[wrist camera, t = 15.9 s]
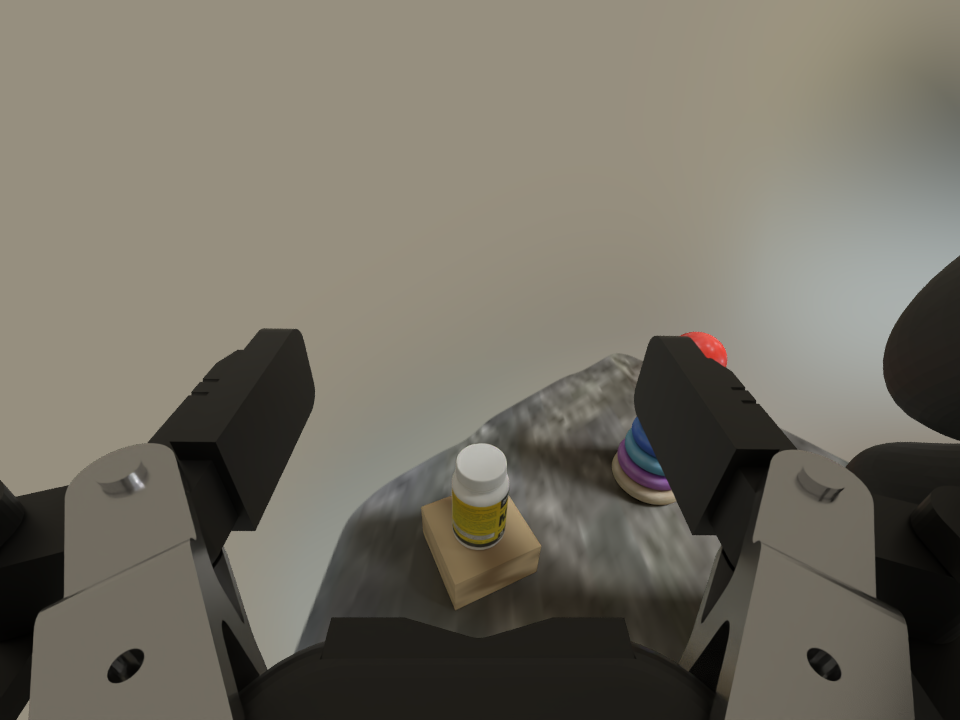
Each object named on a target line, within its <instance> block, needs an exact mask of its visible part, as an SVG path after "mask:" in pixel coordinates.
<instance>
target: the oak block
mask: <svg viewBox="0 0 960 720" xmlns="http://www.w3.org/2000/svg"><path fill="white" fill-rule="evenodd" d="M421 510H422V523H423V533H424V536H425V538H426V541H427V543H428V546H429V548H430V550H431V553H432V555H433V558H434V560H435V562H436V565H437V567H438V570H439V572H440V575H441V577H442V579H443V582H444V584H445V587H446V589H447V591H448V594H449V596H450V599H451V601H452V604H453V606H454V608H455V610H457V609H459V608H461V607H463V606H466V605H468V604H470V603H472V602H474V601H476V600H478V599H480V598H482V597H484V596H486V595H489V594H491V593H493V592H495V591H497V590H499V589H501V588H503V587H505V586H507V585H510V584H512V583H514V582H516V581H518V580H520V579H522V578H524V577H526V576H528V575H531V574H533V573H535V572H537V566H538V561H539V555H540V550H541V545H540V543H539V542H538V540H537V539H536V537H535V536H534V534H533V532H532V531H531V529H530V528H529V526H528V525H527V523H526V522H525V520H524V518H523V517H522V515H521V514H520V512H519V511H518V509H517V508H516V506H515V505H514V503H513V501H512V500H511V498H510V497H509V495H508V505H507V516H506V527H505V532H504V535H503V537H502V539H501V540H500V541H499V542H498V543H497V544H496V545H495V546H493V547H491V548H488V549H484V550H473V549H469V548H467V547H465V546H463V545H462V544H461V543H460V542H459V541H458V540H457V539H456V537H455V535H454V533H453V529H452V496H450V497H447V498H444V499H441V500H439V501H436V502H433V503H431V504H428V505H425V506H422V507H421Z"/></svg>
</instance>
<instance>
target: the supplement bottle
mask: <svg viewBox="0 0 960 720" xmlns="http://www.w3.org/2000/svg"><path fill="white" fill-rule="evenodd" d="M508 495H509V478H508V475H507V461H506V457H505V455H504V454H503V452H502V451H501V450H499V449H498V448H497V447H495V446H492V445H489V444H484V443H479V444H473V445H470V446H467V447H465V448H464V449H463V450H462V451H461V452H460V453H459V454H458V456H457V459H456V470H455V472H454V474H453V477H452V529H453V533H454V535H455V537H456V539H457V540H458V541H459V542H460V543H461V544H462V545H463V546H465V547H467V548H469V549H473V550H484V549H488V548H491V547H493V546H495V545H496V544H497V543H498V542H499V541H500V540H501V539H502V537H503V535H504V532H505V527H506V516H507V505H508Z"/></svg>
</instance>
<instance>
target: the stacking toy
mask: <svg viewBox="0 0 960 720" xmlns="http://www.w3.org/2000/svg"><path fill="white" fill-rule="evenodd" d="M681 336H688V337H690V338H691V339H692V340H693V341H694V342H695V343H696V345H697V346H698V347H699V348H700V350H701V351H702V352H703V353H704V355H705V356H706V357H707V358H712V359H714V360H715V361H717V362H718V363H720V364H721V365H723V366H724V367H726V365H727V354H726V351H725V348H724V347H723V345H722V344H721V343H720V341H718V340H717V339H716V338H715V337H713V336H711V335H709V334H706V333H702V332H689V333H685V334H683V335H681ZM612 472H613V475H614V477H615V479H616V481H617V483H618V484H619V485H620V486H621V488H622V489H623V490H624V491H626V492H627V493H628V494H629V495H631V496H632V497H634V498H636V499H638V500H640V501H643V502H646V503H649V504H655V505H665V504H671V503H674V502H676V499H675V496H674V494H673V492H672V490H671V488H670V486H669V484H668V481H667V479H666V477H665V475H664V473H663V471H662V468H661V466H660V464H659V462H658V460H657V458H656V456H655V453H654V451H653V449H652V447H651V445H650V443H649V441H648V438H647V436H646V434H645V432H644V430H643V428H642V425H641V423H640V421H639V419H638V417H636V418H635V420H634V422H633V424H632V428H631V429H630V430H629V431H628V433H627V435H626V437H625V439H624V440H623V441H622V442H621V443H620V445H619V447H618V452H617V453H616V454H615V456H614V458H613V461H612Z"/></svg>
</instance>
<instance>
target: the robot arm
mask: <svg viewBox="0 0 960 720" xmlns="http://www.w3.org/2000/svg"><path fill="white" fill-rule="evenodd" d="M883 374H884V379H885V383H886V386H887V389H888V391H889V393H890V394H891V396H892V398H893V400H894V401H895V403H896V404H897V405H898V406H899V407H900V408H901V409H902V410H903V411H904V412H905V413H906V414H907V415H908V416H910V417H911V418H913V419H915V420H916V421H918V422H920V423H921V424H923V425H925V426H927V427H928V428H930V429H932V430H934V431H936V432H939V433H940V434H943V435H945V436H948V437H950V438H953V439H956V440H959V441H960V256H959V257H957V258H956V259H955V260H954V261H952V262H951V263H950V264H949V265H948V266H946V267H945V268H944V269H943V270H942V271H941V272H939V273H938V274H937V275H936V276H935V277H934V278H932V279H931V281H930V282H929V283H928V284H927V285H926V286H925V287H924V288H923V289H922V290H921V291H920V292H919V293H918V294H917V295H916V297H915V298H914V299H913V300H912V302H911V303H910V304H909V305H908V306H907V308H906V309H905V310H904V312H903V313H902V314H901V316H900V317H899V319H898V321H897V322H896V324H895V326H894V328H893V329H892V331H891V334H890V336H889V338H888V341H887V344H886V348H885V352H884V358H883ZM314 399H315V387H314V382H313V378H312V373H311V369H310V365H309V360H308V357H307V352H306V348H305V344H304V340H303V336H302V334H301V332H300V331H299V330H298V329H265V328H264V329H261V330H259V332H258V333H257V334H256V335H255V336H254V338H253V339H252V340H251V341H250V343H249V344H248V345H247V346H246V348H245V349H244V350H237V351H235V352H233V353H232V354H231V355H229V356H227V357H226V358H224V359H222V360H221V361H219V362H218V363H216V364H215V365H214V367H213V368H212V369H211V370H210V371H209V372H208V374H207V375H206V376H205V377H204V378H203V382H200V383H199V384H198V385H197V386H196V387H195V388H194V390H193V391H192V395H190V396H188V397H187V398H186V399H185V400H184V401H183V402H182V404H181V405H180V406H179V407H178V408H177V409H176V411H175V412H174V413H173V414H172V415H171V416H170V417H169V418H168V420H167V421H166V422H165V423H164V424H163V425H162V427H161V428H160V429H159V430H158V431H157V432H156V434H155V435H154V436H153V437H152V438H151V439H150V440H149V442H148V443H144V444H137V445H132V446H128V447H125V448H121V449H118V450H116V451H114V452H111V453H109V454H107V455H105V456H103V457H101V458H99V459H98V460H96V461H94V462H93V463H91V464H90V465H88V466H87V467H86V468H84V469H83V470H82V471H81V472H80V473H79V474H78V475H77V476H76V477H75V478H74V479H73V480H72V482H71V483H70V485H68V486H64V487H59V488H54V489H49V490H45V491H40V492H36V493H31V494H27V495H22V496H18V497H15V496H14V495H13V494H12V493H11V491H9V489H8V488H7V487H6V486H5V485H4V484H3V483H2V482H1V480H0V720H16V719H17V718H18V716H19V715H20V713H21V711H22V710H23V709H24V707H25V705H26V704H27V702H28V701H29V699H30V704H29V720H960V444H942V443H917V442H895V443H886V444H881V445H876V446H873V447H871V448H868V449H866V450H864V451H862V452H860V453H859V454H858V455H857V456H855V457H854V458H853V459H852V460H851V461H850V462H849V464H848V465H847V466H846V468H845V467H843V466H842V465H840V464H838V463H836V462H834V461H833V460H831V459H828V458H826V457H824V456H821V455H818V454H815V453H812V452H808V451H802V450H797V448H796V447H795V446H794V445H793V444H792V442H791V441H790V440H789V439H788V438H787V436H786V435H785V434H784V433H783V432H782V431H781V429H780V428H779V427H778V426H777V425H776V424H775V422H774V421H773V420H772V419H771V417H769V415H768V414H767V413H766V412H765V410H764V409H763V408H762V407H761V406H760V404H756V400H755V399H754V397H753V396H752V395H751V394H750V393H749V391H745V387H744V386H743V384H742V383H741V382H740V381H739V379H738V378H737V377H736V376H735V375H734V374H733V372H732V371H730V370H729V369H727V368H726V367H724V366H723V365H721V364H720V363H718V362H717V361H715V360H714V359H712V358H707V357H706V356H705V355H704V353H703V352H702V351H701V350H700V348H699V347H698V346H697V345H696V343H695V342H694V341H693V340H692V339H691V338H690V337H688V336H654V337H652V339H651V340H650V342H649V344H648V347H647V351H646V354H645V357H644V361H643V364H642V367H641V371H640V374H639V378H638V381H637V385H636V388H635V394H634V405H635V411H636V414H637V417H638V419H639V421H640V423H641V425H642V428H643V430H644V432H645V434H646V436H647V438H648V441H649V443H650V445H651V447H652V449H653V451H654V453H655V456H656V458H657V460H658V462H659V464H660V466H661V468H662V471H663V473H664V475H665V477H666V479H667V481H668V484H669V486H670V488H671V490H672V492H673V494H674V496H675V499H676V501H677V503H678V505H679V507H680V509H681V511H682V514H683V516H684V518H685V520H686V522H687V524H688V526H689V529H690V531H691V533H692V535H717V537H718V539H719V541H720V543H721V547H720V548H719V550H718V552H717V554H716V556H715V560H714V563H713V566H712V569H711V573H710V576H709V579H708V582H707V586H706V589H705V592H704V595H703V599H702V602H701V605H700V609H699V612H698V615H697V618H696V622H695V625H694V628H693V631H692V634H691V637H690V639H689V642H688V644H687V646H686V649H685V651H684V653H683V655H682V657H681V659H680V662H679V664H677V663H676V662H674V661H672V660H670V659H669V658H667V657H665V656H663V655H661V654H660V653H658V652H656V651H654V650H651V649H649V648H647V647H644V646H642V645H639V644H637V643H633V642H630V638H629V634H628V631H627V627H626V623H625V620H624V618H550V619H547V620H543V621H540V622H537V623H533V624H530V625H527V626H523V627H520V628H516V629H513V630H510V631H506V632H503V633H499V634H496V635H493V636H489V637H485V638H473V637H469V636H465V635H462V634H459V633H455V632H452V631H448V630H445V629H442V628H438V627H435V626H431V625H428V624H424V623H421V622H418V621H414V620H411V619H407V618H331V621H330V625H329V629H328V633H327V637H326V641H325V642H322V643H318V644H315V645H313V646H310V647H308V648H306V649H303V650H301V651H299V652H296V653H295V654H293V655H291V656H289V657H287V658H286V659H284V660H282V661H280V662H279V663H277V664H275V665H274V666H273V667H271V668H270V669H268V670H267V667H266V665H265V662H264V660H263V658H262V655H261V653H260V651H259V649H258V646H257V644H256V642H255V639H254V636H253V633H252V631H251V628H250V625H249V621H248V618H247V615H246V612H245V609H244V606H243V603H242V599H241V596H240V593H239V590H238V587H237V584H236V580H235V577H234V574H233V571H232V568H231V565H230V562H229V558H228V555H227V553H226V551H225V549H224V547H223V545H224V544H225V542H226V540H227V538H228V536H229V534H230V532H231V531H255V530H256V528H257V526H258V524H259V522H260V520H261V518H262V515H263V513H264V511H265V509H266V507H267V505H268V503H269V501H270V498H271V496H272V494H273V492H274V490H275V488H276V486H277V484H278V481H279V479H280V477H281V475H282V473H283V471H284V469H285V467H286V464H287V462H288V460H289V458H290V456H291V454H292V452H293V449H294V447H295V445H296V443H297V441H298V439H299V437H300V435H301V433H302V430H303V428H304V426H305V424H306V422H307V420H308V418H309V416H310V413H311V411H312V409H313V405H314Z"/></svg>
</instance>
